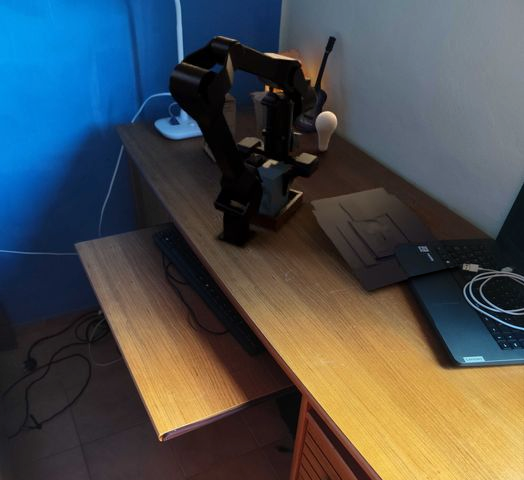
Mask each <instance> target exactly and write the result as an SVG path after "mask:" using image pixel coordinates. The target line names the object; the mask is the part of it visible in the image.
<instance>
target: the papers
mask: <svg viewBox="0 0 524 480" xmlns="http://www.w3.org/2000/svg"><path fill="white" fill-rule="evenodd" d="M309 203H310V204H311V205H312V207H313V208H314V209H312V210H311V212H312V213H313V215H314V216H315V218H316V222H317V223H318V224H319V226H320V227H321V229H322V230H323V231H324V233H325V235H327V237H328V238H329V239H330V241H331V242H332V244H333V246H335V248H336V249H337V250H338V252H339V254H341V256H342V257H343V259H344V260H345V261H346V263H347V264H348V266H349V267H350V270H351V271H352V272H353V273H354V275H355V276H356V277H357V279H358V280H359V281H360V282H361V283H362V285H363V286H364V288H366V290H367V291H368V292H370V291H374V290H376V289H379V288H383V287H385V286H389V285H392V284H395V283H400V282H402V281H405V280H408V277H407V275H406V274H405V272H404V271H403V269H402V267H399V265H398V262H397V260H396V258H395V254H394V251H393V250H394V247H395V245H396V244H398V243H408V242H410V243H411V242H426V241H440V240H439V238H438V237H437V236H436V235H435V234H434V233H433V232H432V230H431V229H430V228H428V226H427V225H426V224H425V223H424V222H423V221H422V220H421V219H420V217H418V216H417V214H416V213H415V212H414V211H413V210H412V209H410V208H409V207H408V206H407V204H406V203H405V202H403V201H401V200H400V199H399V198H398V197H397V196H396V195H395V194H394V193H393V194H389V193H388V192H387V190H386V189H385V188H384V187H377V188H373V189H372V188H371V189H368V190H362V191H358V192H353V193H348V194H342V195H336V196H331V197H326V198H325V197H324V198H319V199H314V200H309Z"/></svg>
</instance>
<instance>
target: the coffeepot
mask: <svg viewBox="0 0 524 480" xmlns="http://www.w3.org/2000/svg"><path fill="white" fill-rule="evenodd" d="M268 91H270V92H273V93H275V92H276V91H275V88H272V87H269V86H268V90H265V91H252V92H250V93H249V96H250V97H251V99H252V101H253V104H254V113H255V122H256V123H257V125H256V126H257V127H256V132H255V137H254V138H258V139H260V140H261V141H262V142H263V143H264V138H265V136H262V131H263V130H264V129H265V118H266V106H264V105H261V104H260V102H261V100H262V98H263V97H265V96H266V94H267V92H268ZM297 119H298V117H297V118H293V120H292V127H294V128H295V124H296V122H297Z"/></svg>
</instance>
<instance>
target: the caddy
mask: <svg viewBox="0 0 524 480" xmlns="http://www.w3.org/2000/svg"><path fill="white" fill-rule="evenodd" d="M303 199H304V192H302V191H299V190H295V189H292V188H290V189H289V193H288V202H287V206H286V207H285V208H284V209H282V210H281V211H280V212H279V213H278V214H277V215H275V216H274V217H272V216H269V215H266V214H263V213H260V212H259V213H258V215H256V216H255V217H254V218H252V219H251V220H250V223H251V224H253V225H256V226H259V227H263V228H265V229H268V230H271V231H274V232H276V231H277V230H279V228H280V227H281V226H282V225H284V223H285V222H287V220H288V219H289V218H290V217H291V216H292V215H293V214H294V213H295V212H296V211H297V210H298V209H299V208H300V207H301V205H302V204H303Z"/></svg>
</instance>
